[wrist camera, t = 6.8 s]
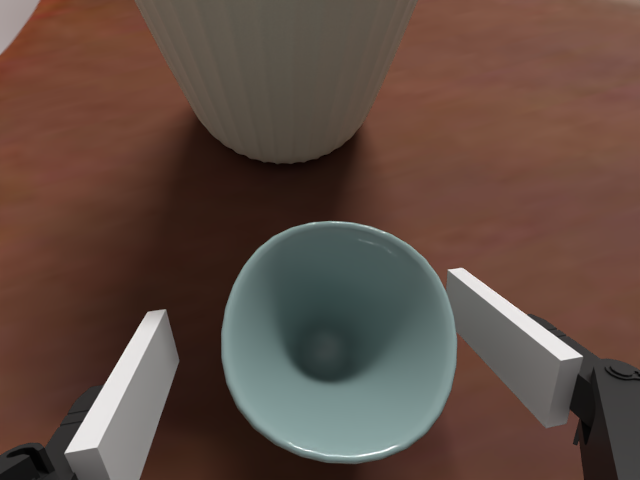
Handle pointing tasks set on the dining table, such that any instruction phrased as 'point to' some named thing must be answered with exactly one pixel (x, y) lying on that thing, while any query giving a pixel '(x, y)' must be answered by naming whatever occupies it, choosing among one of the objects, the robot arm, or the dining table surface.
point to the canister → (279, 67)
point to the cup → (339, 343)
